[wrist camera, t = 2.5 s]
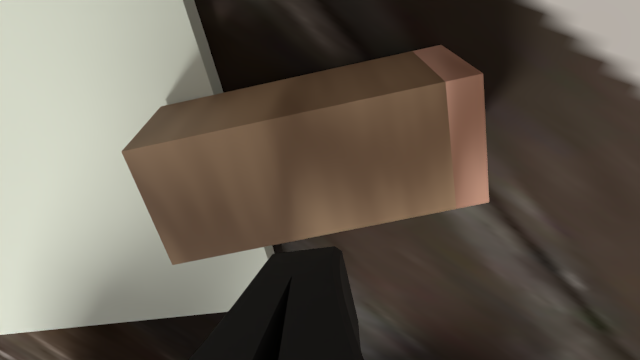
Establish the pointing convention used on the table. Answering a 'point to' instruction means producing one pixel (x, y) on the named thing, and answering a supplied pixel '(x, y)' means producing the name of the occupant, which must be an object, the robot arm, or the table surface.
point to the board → (96, 164)
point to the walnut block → (314, 154)
